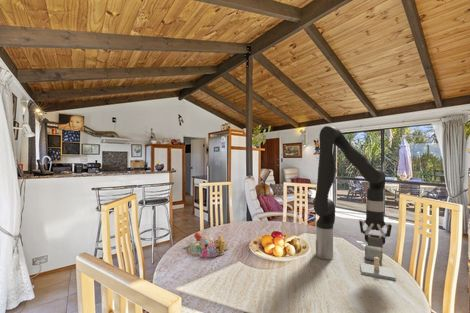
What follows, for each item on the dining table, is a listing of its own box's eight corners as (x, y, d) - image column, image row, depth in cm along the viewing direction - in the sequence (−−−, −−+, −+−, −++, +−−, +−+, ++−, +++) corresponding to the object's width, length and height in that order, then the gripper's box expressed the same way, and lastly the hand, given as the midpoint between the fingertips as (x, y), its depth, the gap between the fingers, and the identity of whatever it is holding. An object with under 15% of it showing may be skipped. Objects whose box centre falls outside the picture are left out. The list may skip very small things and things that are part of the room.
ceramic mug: (383, 263, 123) (383, 249, 123) (365, 260, 126) (365, 247, 126) (380, 256, 132) (380, 243, 132) (364, 253, 136) (364, 240, 136)
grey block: (368, 245, 111) (368, 237, 111) (367, 241, 116) (367, 233, 116) (382, 247, 108) (382, 239, 108) (381, 243, 113) (381, 235, 113)
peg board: (361, 273, 113) (361, 259, 112) (360, 264, 122) (360, 251, 122) (395, 280, 107) (395, 265, 107) (391, 270, 116) (391, 256, 116)
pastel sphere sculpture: (227, 242, 154) (227, 228, 154) (228, 258, 130) (228, 242, 130) (190, 242, 153) (190, 229, 153) (184, 259, 129) (184, 242, 129)
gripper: (358, 209, 112) (358, 243, 112) (393, 212, 105) (393, 248, 106) (358, 206, 119) (357, 238, 119) (391, 209, 112) (390, 243, 112)
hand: (374, 242), depth 112 cm, fingers closed on grey block, 6 cm apart
